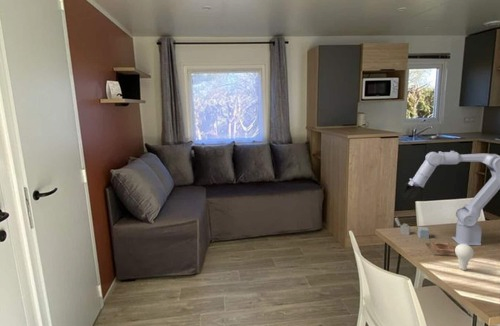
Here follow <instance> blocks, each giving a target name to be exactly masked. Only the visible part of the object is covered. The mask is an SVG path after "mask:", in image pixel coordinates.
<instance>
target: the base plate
mask: <svg viewBox="0 0 500 326" xmlns="http://www.w3.org/2000/svg"><path fill="white" fill-rule="evenodd" d="M425 245H426V247H427V248H428V249H429V251H430V252H431V254H433V256H434V257H456V258H458V257H457V255H456V253H455V248H456V246H454V245H453V244H451V243H449V242H448V243H447V242H445V243H444V242H431V243H426V244H425Z"/></svg>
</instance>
